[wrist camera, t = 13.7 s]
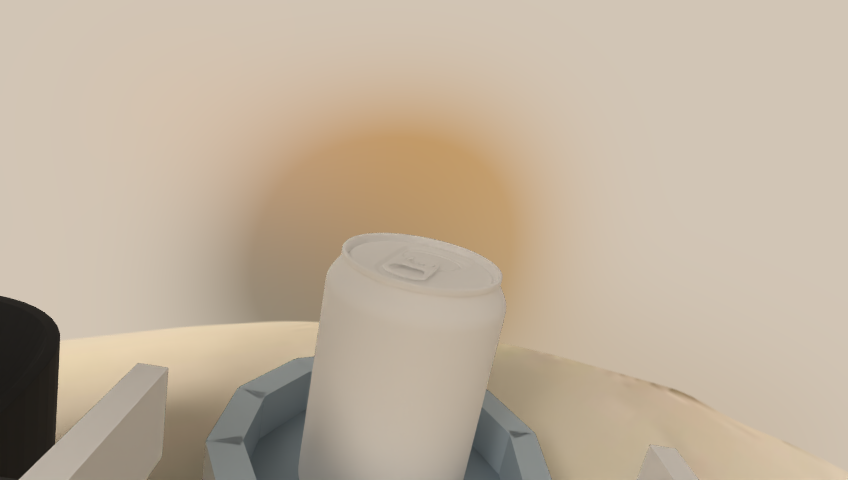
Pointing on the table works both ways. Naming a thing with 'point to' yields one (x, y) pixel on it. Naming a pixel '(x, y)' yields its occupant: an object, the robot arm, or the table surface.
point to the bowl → (284, 423)
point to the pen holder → (26, 385)
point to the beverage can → (401, 360)
